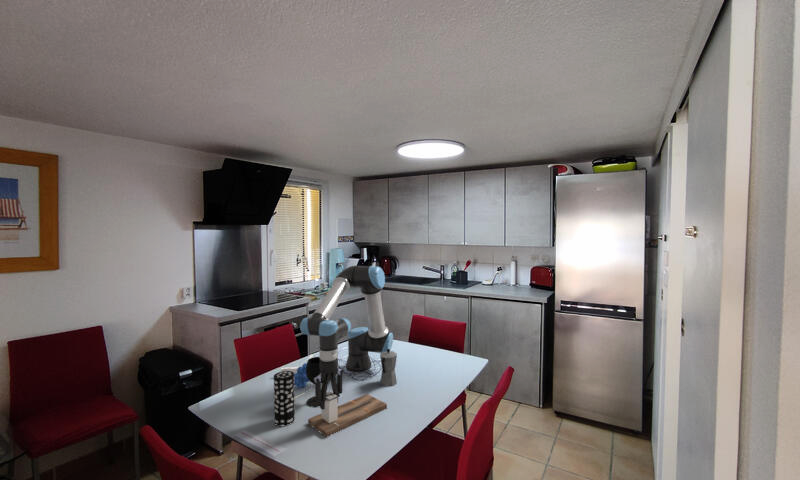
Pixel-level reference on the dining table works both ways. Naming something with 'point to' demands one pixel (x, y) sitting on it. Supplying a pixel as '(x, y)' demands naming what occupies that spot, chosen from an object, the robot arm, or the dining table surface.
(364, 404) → the brown flat wooden board
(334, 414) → the fader
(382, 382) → the coffeepot
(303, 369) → the grapes
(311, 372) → the wine glass
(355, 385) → the dining table surface
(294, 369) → the napkin holder
